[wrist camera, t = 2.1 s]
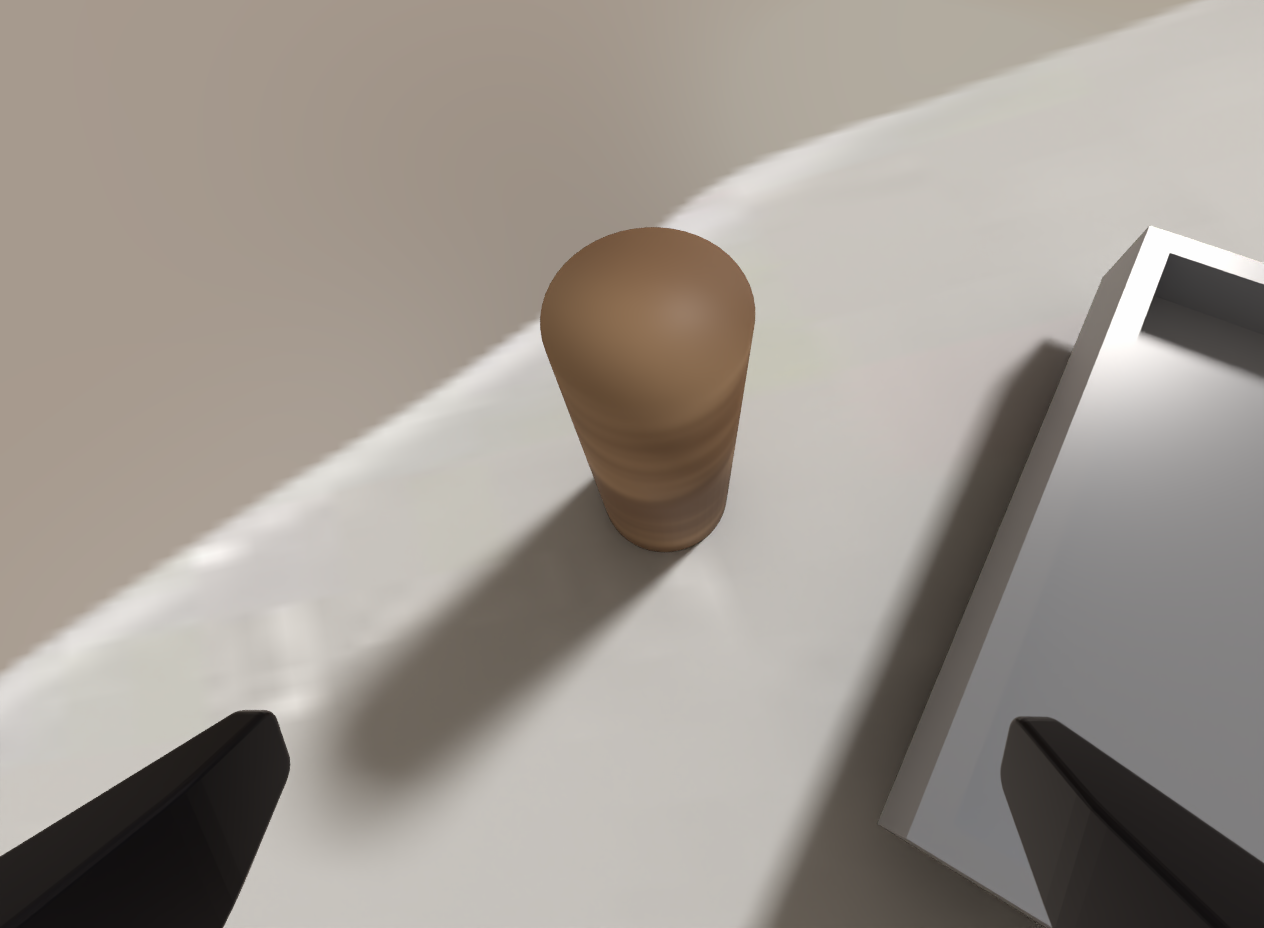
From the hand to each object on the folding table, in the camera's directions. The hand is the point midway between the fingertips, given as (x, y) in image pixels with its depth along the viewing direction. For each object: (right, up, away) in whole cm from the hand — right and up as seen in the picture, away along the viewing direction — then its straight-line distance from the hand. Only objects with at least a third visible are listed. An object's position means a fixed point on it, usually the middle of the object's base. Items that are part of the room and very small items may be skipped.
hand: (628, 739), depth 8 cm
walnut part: (+1, +2, +16) cm, 16 cm away
